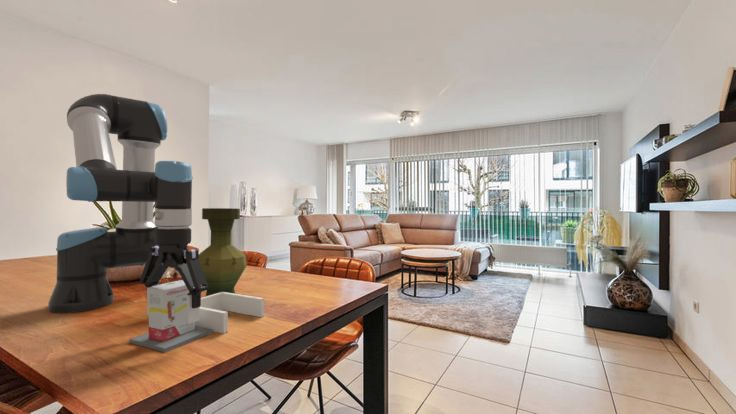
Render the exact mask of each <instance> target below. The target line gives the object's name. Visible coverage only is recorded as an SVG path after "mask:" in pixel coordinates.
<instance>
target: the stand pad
mask: <svg viewBox="0 0 736 414" xmlns="http://www.w3.org/2000/svg"><path fill="white" fill-rule="evenodd" d="M212 333H213V331H212V329H208V328H203V327H198V326H195V329H194V330H192V331H189V332H187V333H184V334H182V335H179V336H177V337H174V338H172V339H169V340H167V341H164V342H162V341H157V340H153V339H149V331H148V332H145V333H143V334H140V335H137V336H134V337H132V338H129V343H130V344H134V345H137V346H142V347H144V348H148V349H152V350H156V351H158V352H163V353H167V352H169V351H172V350H174V349H177V348H179V347H181V346H183V345H186V344H190V342H191V343H192V342H194V341H196V340H198V339H201V338H203V337H206V336H208V335H210V334H212Z"/></svg>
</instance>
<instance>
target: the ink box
mask: <svg viewBox="0 0 736 414" xmlns="http://www.w3.org/2000/svg"><path fill="white" fill-rule="evenodd" d="M193 288H194V287H193ZM188 293H189V291H188V289H187V287H186V285H185V283H184V281H183V279H180V280H175V281H174V280H173V281H170V282H165V283H160V284H158V285H156V286H152V287H151V288H150V300H149V315H148V332H149V339H153V340H157V341H162V342H164V341H167V340H169V339H172V338H174V337H177V336H179V335H182V334H184V333H187V332H189V331H192V330H194V329H195V322H193V323H190V324H187V294H188Z"/></svg>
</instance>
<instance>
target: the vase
mask: <svg viewBox="0 0 736 414" xmlns="http://www.w3.org/2000/svg"><path fill="white" fill-rule="evenodd" d="M240 213H241V209H240V208H229V207H228V208H227V207H226V208H224V207H220V208H219V207H217V208H215V207H211V208H210V207H208V208H207V207H205V208H202V209H201V220H207V222H208V226H209V228H210V229H209V230H210V245H209V246H207V247H206V248H205V249H204V250H202V251H201V252H200V253H198V254H199V261H200V264H201V267H202V270H203V273H204V276H205V279H206V282H207V285H208V290H206V291H205V296H204V297H206V296H209V295H213V294H216V293H220V292H227V293H234V294H236V291H235V286H236V285H237V283H238V282H239V280H240V278H241V276H242V275H243V273H244V271H245V269H246V268H247V266H248V261H247V255H246V254H245V253H244V252H243V251H241V250H240V249H238V248H237V247H236V246H234V245H233V244H232V230H233V226H234V223H235V220H241V217H240V216H241V214H240Z"/></svg>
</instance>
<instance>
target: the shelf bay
mask: <svg viewBox="0 0 736 414" xmlns="http://www.w3.org/2000/svg"><path fill="white" fill-rule="evenodd" d="M205 296H206V295H205ZM205 296H203V297H201V305H200V307H199V320H198V321H195V326H198V327H203V328H208V329H212V332H214V333H215V332H216V333H219V334H226V333H228V328H229V326H228V323H229V320H228V319H229V316H228V314H229V313H228V312H231V313H236V314H243V315H246V316H247V315H248V316H253V317H258V318H262V317H264V316H265V297H259V296H253V295H246V294H239V293H235V294H234V293H227V292H220V293H216V294H213V295H209V296H206V297H205Z"/></svg>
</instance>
